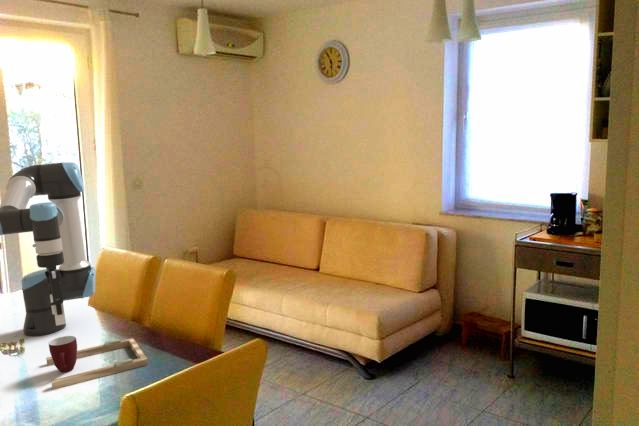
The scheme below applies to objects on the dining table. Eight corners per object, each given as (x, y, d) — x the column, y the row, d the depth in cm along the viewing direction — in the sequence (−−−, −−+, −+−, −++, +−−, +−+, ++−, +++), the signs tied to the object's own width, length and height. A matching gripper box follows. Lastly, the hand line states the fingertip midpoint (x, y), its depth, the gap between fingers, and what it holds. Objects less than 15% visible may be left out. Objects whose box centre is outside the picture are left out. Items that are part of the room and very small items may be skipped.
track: (47, 363, 187) (45, 356, 187) (133, 343, 201) (132, 336, 200) (52, 389, 168) (51, 381, 167) (147, 364, 181) (146, 356, 181)
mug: (80, 374, 177) (76, 344, 175) (52, 380, 174) (48, 350, 172) (79, 362, 186) (75, 334, 185) (53, 368, 183) (48, 339, 182)
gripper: (33, 248, 183) (43, 311, 186) (38, 261, 161) (48, 332, 164) (59, 245, 187) (67, 306, 190) (66, 257, 165) (76, 326, 168)
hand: (59, 318), depth 177 cm, fingers open, 13 cm apart
